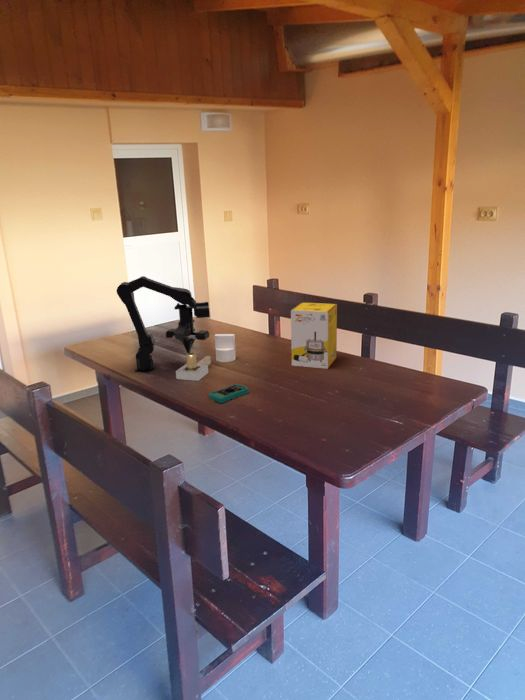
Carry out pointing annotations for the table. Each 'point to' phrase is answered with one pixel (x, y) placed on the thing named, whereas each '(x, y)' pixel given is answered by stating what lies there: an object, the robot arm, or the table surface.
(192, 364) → the brown mottled cylinder
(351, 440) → the table surface
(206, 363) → the square frame with handle
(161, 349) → the table surface
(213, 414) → the table surface
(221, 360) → the base with upright slab
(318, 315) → the packaging box
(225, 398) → the digital multimeter
